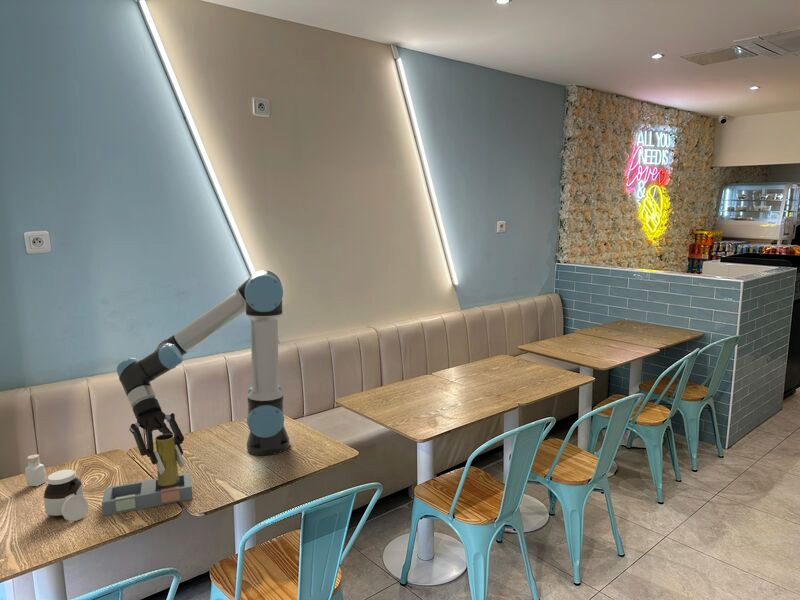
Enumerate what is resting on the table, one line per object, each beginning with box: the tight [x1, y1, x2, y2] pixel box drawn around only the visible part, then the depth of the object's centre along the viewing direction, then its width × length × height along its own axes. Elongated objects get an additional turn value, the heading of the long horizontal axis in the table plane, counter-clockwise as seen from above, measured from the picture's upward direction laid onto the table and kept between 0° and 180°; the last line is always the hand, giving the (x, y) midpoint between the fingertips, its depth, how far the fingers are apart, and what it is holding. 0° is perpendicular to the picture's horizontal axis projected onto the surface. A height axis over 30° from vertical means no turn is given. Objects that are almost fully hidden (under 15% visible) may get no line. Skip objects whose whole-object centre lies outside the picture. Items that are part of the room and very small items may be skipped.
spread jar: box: [43, 469, 89, 522], centre depth 166 cm, size 12×11×12 cm
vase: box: [155, 433, 179, 486], centre depth 175 cm, size 6×6×14 cm
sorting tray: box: [101, 472, 193, 517], centre depth 174 cm, size 24×10×4 cm, turn 111°
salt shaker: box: [24, 453, 47, 487], centre depth 186 cm, size 4×4×10 cm
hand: (172, 468), depth 173 cm, fingers closed on vase, 5 cm apart
